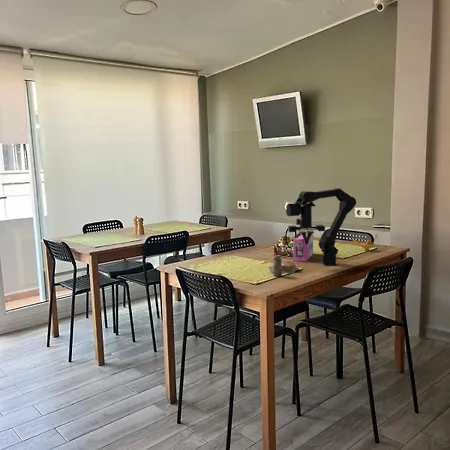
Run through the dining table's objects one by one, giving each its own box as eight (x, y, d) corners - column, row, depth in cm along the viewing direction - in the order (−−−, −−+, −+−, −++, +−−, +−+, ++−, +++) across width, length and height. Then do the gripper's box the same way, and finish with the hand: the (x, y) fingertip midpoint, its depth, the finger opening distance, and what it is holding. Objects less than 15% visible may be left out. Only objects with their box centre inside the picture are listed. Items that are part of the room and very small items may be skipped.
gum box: (306, 262, 251) (306, 238, 249) (292, 261, 253) (291, 237, 251) (313, 253, 273) (313, 231, 271) (300, 253, 276) (300, 231, 274)
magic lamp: (352, 248, 284) (352, 231, 282) (380, 251, 273) (381, 233, 271) (347, 250, 278) (348, 232, 277) (376, 253, 267) (377, 235, 266)
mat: (291, 266, 241) (291, 265, 241) (294, 272, 227) (294, 272, 227) (268, 267, 241) (268, 266, 241) (270, 273, 228) (270, 272, 228)
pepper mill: (281, 274, 224) (281, 254, 223) (282, 276, 221) (281, 256, 219) (273, 275, 225) (273, 254, 223) (274, 277, 221) (273, 256, 219)
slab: (293, 261, 239) (280, 261, 239) (295, 265, 229) (281, 265, 229) (293, 266, 239) (280, 266, 239) (295, 271, 229) (282, 271, 229)
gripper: (321, 212, 244) (321, 241, 246) (286, 213, 244) (286, 242, 246) (325, 215, 233) (325, 245, 235) (289, 216, 233) (289, 246, 235)
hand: (306, 244), depth 238 cm, fingers closed
